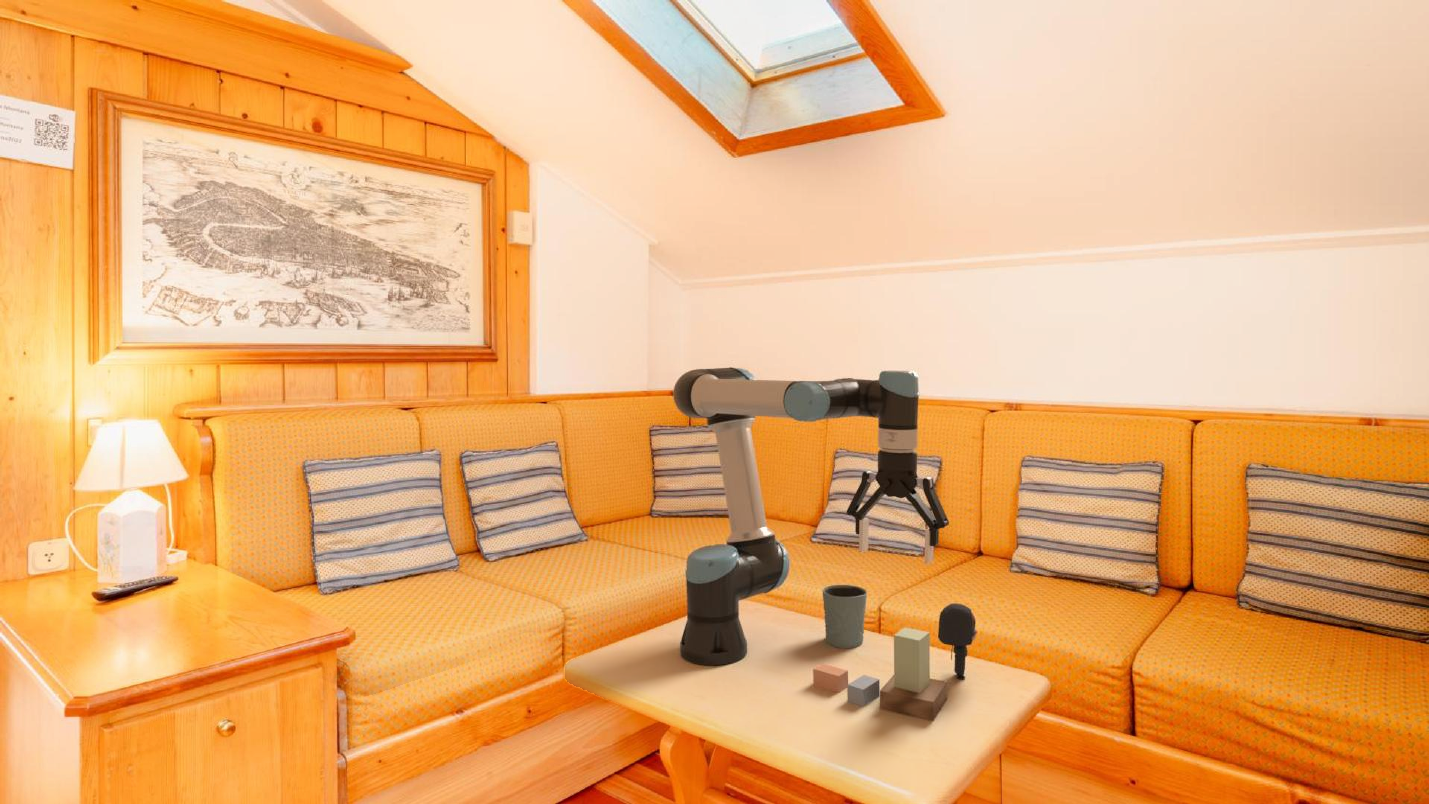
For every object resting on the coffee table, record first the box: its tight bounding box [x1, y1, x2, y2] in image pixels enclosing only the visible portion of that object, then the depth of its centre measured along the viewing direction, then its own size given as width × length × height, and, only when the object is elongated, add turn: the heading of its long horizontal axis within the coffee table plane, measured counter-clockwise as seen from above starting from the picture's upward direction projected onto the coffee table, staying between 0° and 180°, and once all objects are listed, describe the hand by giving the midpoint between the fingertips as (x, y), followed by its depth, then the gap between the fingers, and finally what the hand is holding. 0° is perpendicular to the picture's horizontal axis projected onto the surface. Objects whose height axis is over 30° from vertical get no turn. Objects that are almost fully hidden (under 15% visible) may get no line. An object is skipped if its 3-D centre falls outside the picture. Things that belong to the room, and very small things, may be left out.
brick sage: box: [893, 626, 931, 693], centre depth 148 cm, size 5×5×10 cm
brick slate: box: [846, 674, 881, 708], centre depth 151 cm, size 6×4×4 cm, turn 138°
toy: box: [937, 603, 978, 680], centre depth 160 cm, size 9×8×15 cm
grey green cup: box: [821, 584, 868, 649], centre depth 181 cm, size 10×10×12 cm
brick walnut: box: [879, 674, 948, 722], centre depth 148 cm, size 10×10×4 cm
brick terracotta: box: [812, 663, 849, 693], centre depth 157 cm, size 6×4×4 cm, turn 50°
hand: (895, 556), depth 154 cm, fingers open, 13 cm apart
